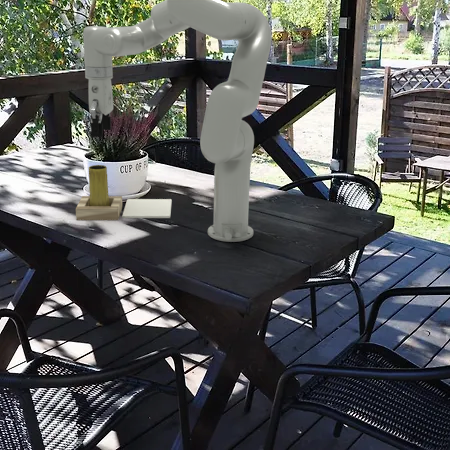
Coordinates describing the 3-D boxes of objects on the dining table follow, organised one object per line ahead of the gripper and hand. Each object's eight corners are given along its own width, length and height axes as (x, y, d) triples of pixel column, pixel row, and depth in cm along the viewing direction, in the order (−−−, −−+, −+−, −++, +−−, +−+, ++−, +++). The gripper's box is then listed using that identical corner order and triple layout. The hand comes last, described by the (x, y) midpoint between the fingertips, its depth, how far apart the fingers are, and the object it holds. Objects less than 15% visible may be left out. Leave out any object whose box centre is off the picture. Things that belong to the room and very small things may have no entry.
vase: (85, 214, 178) (82, 168, 173) (98, 208, 183) (96, 163, 178) (101, 218, 176) (99, 171, 171) (114, 212, 181) (112, 166, 176)
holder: (118, 220, 174) (117, 208, 173) (76, 220, 174) (75, 208, 172) (122, 206, 186) (122, 196, 184) (83, 206, 185) (82, 196, 184)
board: (170, 218, 177) (170, 216, 177) (122, 217, 176) (122, 216, 176) (171, 201, 192) (171, 199, 192) (127, 200, 191) (127, 199, 191)
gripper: (104, 77, 160) (107, 140, 166) (118, 69, 176) (120, 127, 182) (77, 75, 160) (80, 139, 166) (93, 68, 176) (96, 126, 182)
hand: (101, 133), depth 174 cm, fingers open, 9 cm apart
